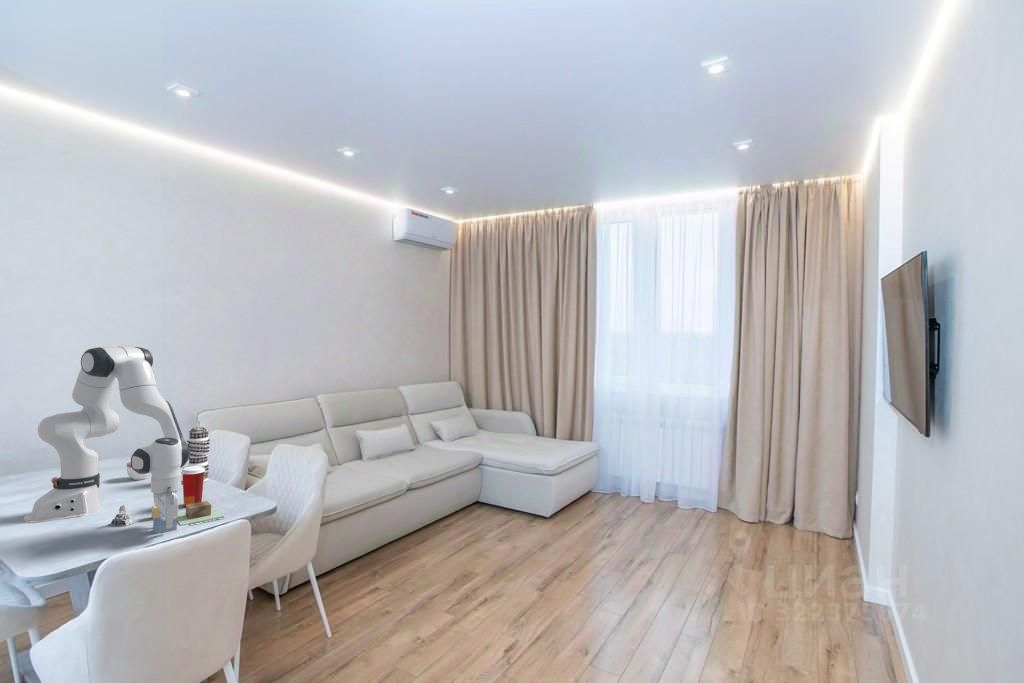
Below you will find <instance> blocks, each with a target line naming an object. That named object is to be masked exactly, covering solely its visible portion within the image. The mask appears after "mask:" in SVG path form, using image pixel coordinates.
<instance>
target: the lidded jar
mask: <svg viewBox="0 0 1024 683" xmlns="http://www.w3.org/2000/svg"><path fill="white" fill-rule="evenodd" d="M126 471H127V475H128V477H129V478H130V479H132V480H133V481H142V480H146V479H148V478H149V477H150V476H152V474H151V473H148V474H139V473H137V472H135V471H134V470H133V469H132V467H131V461H130V462H129V461H128V462H127V463H126Z"/></svg>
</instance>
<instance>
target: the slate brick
mask: <svg viewBox="0 0 1024 683" xmlns="http://www.w3.org/2000/svg"><path fill="white" fill-rule="evenodd" d="M152 520H153V523H152V524H153V525H152V526H153V528H152V530H153V532H154V533H155V534H156V535H158V534H162V533H167V532H172V531H173V532H174V531H177V530H178V528H177V527H178V526H177V525H178V522H177V518H176V517H174V519H173V522H172V528H168V529H167V528H166V527H165V523H166V518H165V517H164V516H162V517H157V518H154V519H153V518H152Z"/></svg>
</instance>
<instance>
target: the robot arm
mask: <svg viewBox="0 0 1024 683" xmlns="http://www.w3.org/2000/svg"><path fill="white" fill-rule="evenodd" d="M153 364H154V358H153V354H152V353H151V352H150V350H148V349H147V348H144V347H139V346H135V347H133V346H130V347H129V346H110V347H109V346H108V347H101V346H100V347H93V348H92V347H91V348H88V349H87V350H85V352H83V354H82V355H81V359H80V366H81V368H80V370H79V372H78V375H77V378H76V379H75V380H76V381H75V384H74V387H73V390H72V393H71V396H72V399H73V401H74V402H75V403H76V404H78V405H79V406H81V407H82V409H81V410H79V411H71V412H62V413H57V414H53V415H49V416H46V417H44V418H42V420H41V421H40V422H39V423H38V427H37V433H38V434H37V435H38V437H39V438H40V439H41V440H42V441H43V442H44V443H47V444H49V446H50V445H51V446H52V447H53V448H54V449H55V450H56V452H57V454H58V456H59V461H60V462H59V463H60V464H59V465H60V477H52V478H51V480H50V481H51V483H52V484H53V485H52V486H53V487H52V489H50V490H49V491H48V492H46V493H44V495H42V496H40V497H39V498H38V499H37V500H36V501H35V502H34V503H33V506H32V509H31V512H29V513H27V514H25V515H24V517H23V522H25V523H27V524H35V523H36V524H37V523H44V522H51V521H53V522H54V521H60V520H69V519H75V518H76V519H77V518H82V517H83V518H84V517H86V516H88V515H90V514H93V513H96V512H98V511H101V510H102V509H103V507H104V506H103V504H102V502H101V496H100V489H99V488H100V485H101V476H100V472H99V461H100V460H99V457H100V456H99V454H98V452H97V451H95V450H93V449H92V448H87V447H86V446H85V443H84V440H87V439H92V438H95V439H96V438H100V437H103V436H106V435H110V434H112V433H115V432H116V431H117V430H118V428H119V426H120V422H121V421H120V416H119V414H118V413H117V412H116V411H115V410H113V409H112V408H111V407H110V402H109V401H110V397H111V394H112V390H113V386H114V384H115V380H116V379H117V381H118V389H119V395H120V402H121V403H122V406H123V407H124V408H125V409H126V410H128V411H130V412H132V413H135V414H137V415H143V416H147V417H149V418H152V419H155V421H157V422H158V424H159V426H160V427H161V430H162V433H163V435H164V437H161V438H157V439H155V440H154V441H153V442H152V443H151V444H148V445H146V446H142V447H139V448H137V449H136V450H135V451H134V452H133V453H132V455H131V458H130V462H131V467H132V469H133V470H134V471H135V472H137V473H139V474H148V473H151V477H150V492H151V493H153V502H154V505H155V506H156V507H157V508H158V509H159V515H160V517H162V516H164V517H165V518H166V523H165V527H166V528H167V529H168V528H172V522H173V519H174V517H177V516H178V513H179V498H178V494H177V493H178V491H179V490H181V489H182V474H181V472H182V470H181V468H183V467H184V466H185V465H187V463H188V462H189V458H190V448H189V447H188V442H187V441H186V440H185V438H184V435H183V433H182V431H181V427H180V425H179V422H178V419H177V416H176V414H175V412H174V409H173V406H172V405H171V404H170V402H169V401H168V400H165V398H163V397H162V395H161V393H160V392H159V390H158V389H159V388H158V385H157V380H156V376H155V373H154V371H153Z"/></svg>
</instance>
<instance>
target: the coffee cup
mask: <svg viewBox="0 0 1024 683" xmlns="http://www.w3.org/2000/svg"><path fill="white" fill-rule="evenodd" d="M204 471H205V469H204V467H202V466H192V467H188V466H187V467H184V468H183V469H182V470H181V476H182V492H183V506H184V507H185V506H186V505H187V504H192V503H198V502H203V491H204V482H205V481H204ZM203 481H204V482H203Z"/></svg>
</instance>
